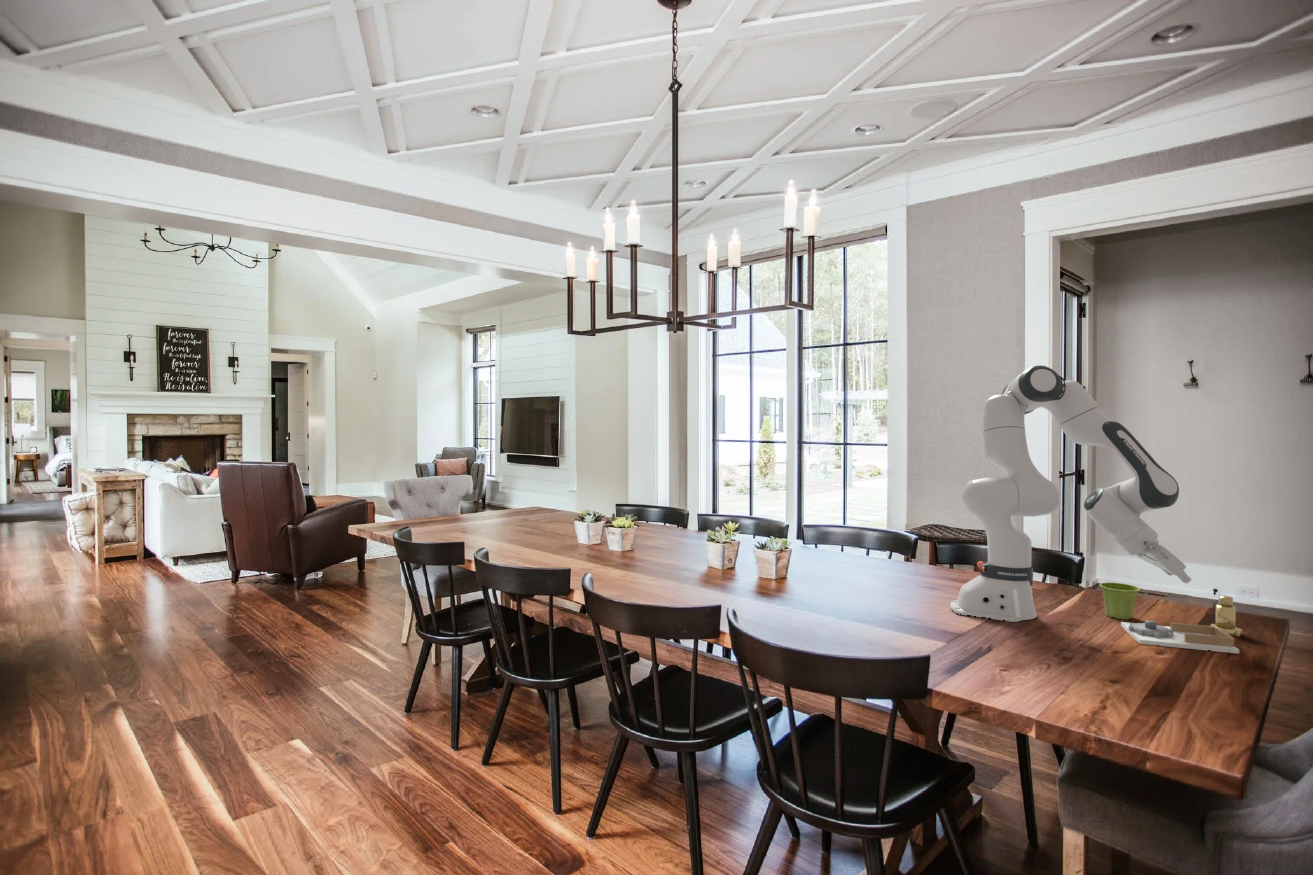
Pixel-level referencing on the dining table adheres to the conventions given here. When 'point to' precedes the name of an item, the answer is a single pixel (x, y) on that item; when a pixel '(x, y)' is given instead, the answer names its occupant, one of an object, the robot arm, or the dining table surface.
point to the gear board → (1181, 636)
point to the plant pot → (1119, 599)
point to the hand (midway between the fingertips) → (1179, 577)
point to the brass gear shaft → (1226, 616)
